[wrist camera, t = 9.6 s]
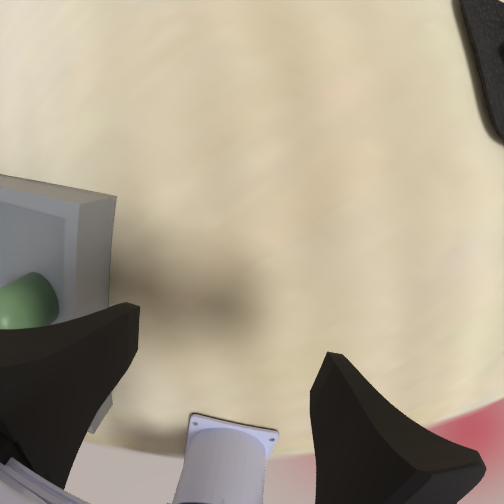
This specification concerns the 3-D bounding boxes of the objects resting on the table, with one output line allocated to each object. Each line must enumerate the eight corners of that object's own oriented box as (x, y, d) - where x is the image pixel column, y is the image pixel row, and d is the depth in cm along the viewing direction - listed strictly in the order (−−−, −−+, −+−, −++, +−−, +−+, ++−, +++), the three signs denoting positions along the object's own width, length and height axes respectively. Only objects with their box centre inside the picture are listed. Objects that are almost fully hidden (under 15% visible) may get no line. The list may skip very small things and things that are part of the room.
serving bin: (112, 404, 24) (93, 434, 20) (3, 347, 24) (-19, 365, 20) (116, 196, 19) (79, 204, 15) (-11, 172, 19) (-44, 177, 15)
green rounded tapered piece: (59, 331, 21) (18, 367, 16) (24, 310, 22) (-18, 338, 16) (58, 284, 20) (9, 315, 14) (22, 264, 20) (-27, 288, 14)
